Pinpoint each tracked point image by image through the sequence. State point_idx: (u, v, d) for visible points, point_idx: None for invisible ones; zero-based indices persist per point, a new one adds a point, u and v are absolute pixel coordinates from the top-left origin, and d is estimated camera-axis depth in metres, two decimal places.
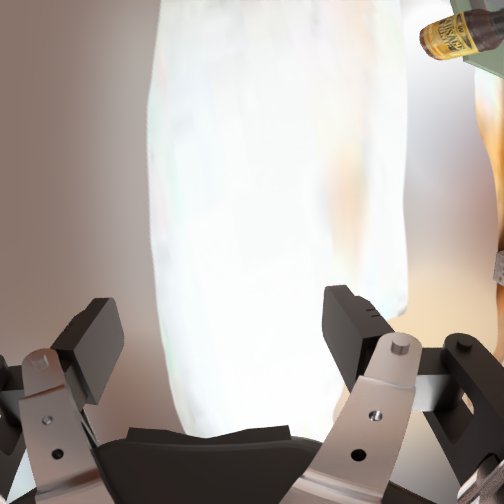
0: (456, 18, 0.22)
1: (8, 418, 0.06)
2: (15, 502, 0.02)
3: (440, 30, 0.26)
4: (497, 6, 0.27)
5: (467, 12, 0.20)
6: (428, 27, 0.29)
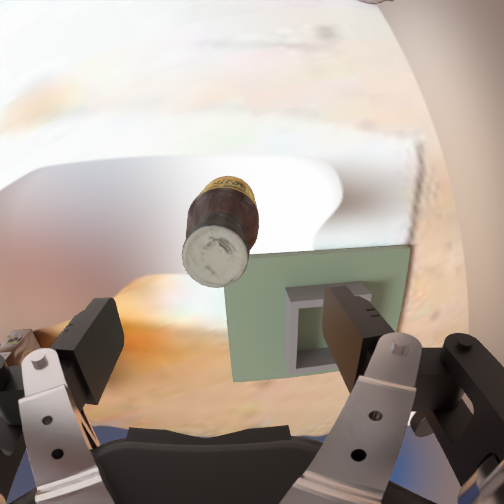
0: (233, 185, 0.26)
1: (8, 418, 0.06)
2: (15, 502, 0.02)
3: (223, 180, 0.30)
4: None
5: (244, 197, 0.25)
6: (239, 179, 0.33)
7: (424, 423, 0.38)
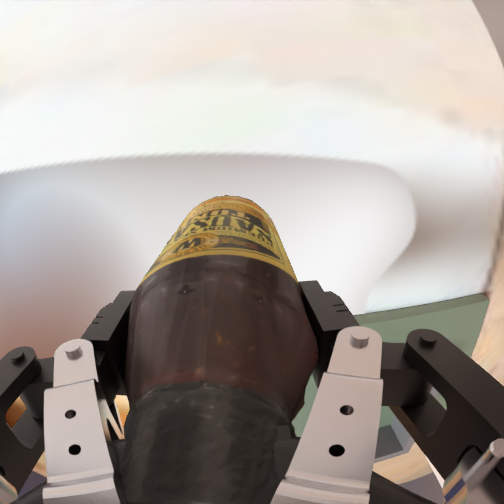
0: (245, 238, 0.10)
1: (33, 412, 0.06)
2: (15, 502, 0.02)
3: (218, 211, 0.14)
4: (394, 421, 0.26)
5: (278, 282, 0.09)
6: (251, 204, 0.17)
7: None
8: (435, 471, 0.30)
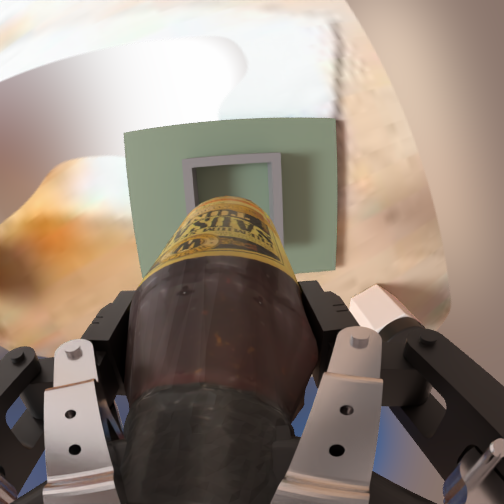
0: (244, 239, 0.10)
1: (34, 412, 0.06)
2: (15, 502, 0.02)
3: (218, 211, 0.14)
4: None
5: (278, 283, 0.09)
6: (251, 205, 0.17)
7: None
8: None
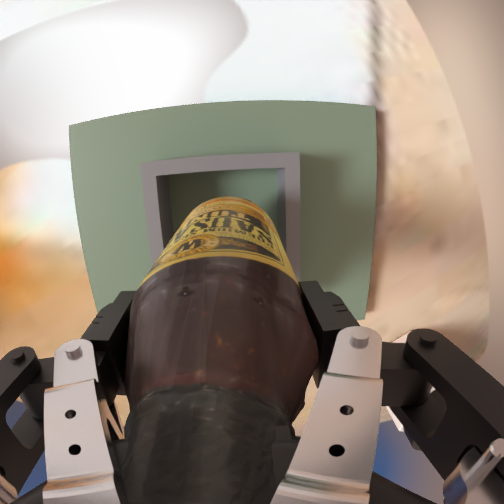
0: (245, 239, 0.10)
1: (34, 412, 0.06)
2: (15, 502, 0.02)
3: (218, 212, 0.14)
4: None
5: (278, 284, 0.09)
6: (251, 205, 0.17)
7: None
8: None
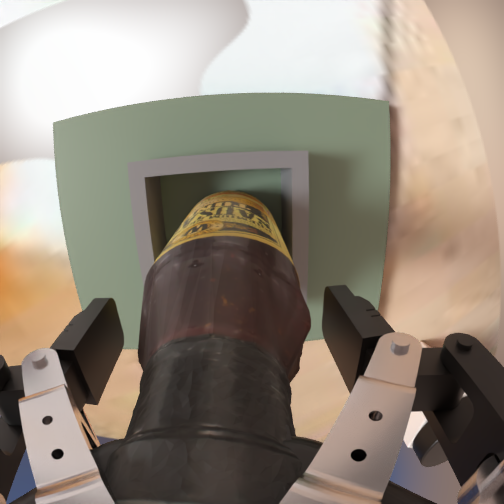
0: (246, 224, 0.11)
1: (8, 418, 0.06)
2: (15, 502, 0.02)
3: (222, 203, 0.15)
4: None
5: (275, 260, 0.10)
6: (252, 198, 0.18)
7: (439, 446, 0.19)
8: None
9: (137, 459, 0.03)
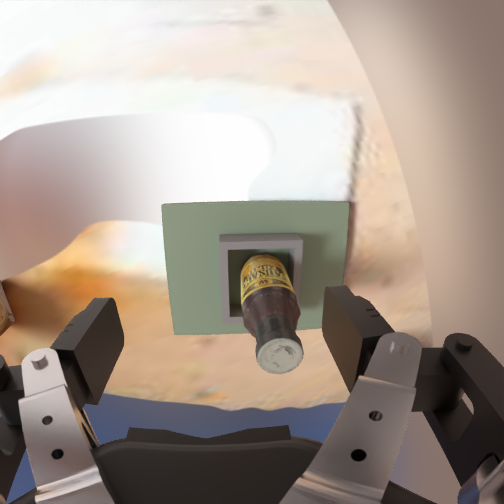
0: (279, 280, 0.33)
1: (8, 418, 0.06)
2: (15, 502, 0.02)
3: (265, 266, 0.36)
4: None
5: (289, 293, 0.31)
6: (275, 260, 0.40)
7: None
8: None
9: (270, 334, 0.25)
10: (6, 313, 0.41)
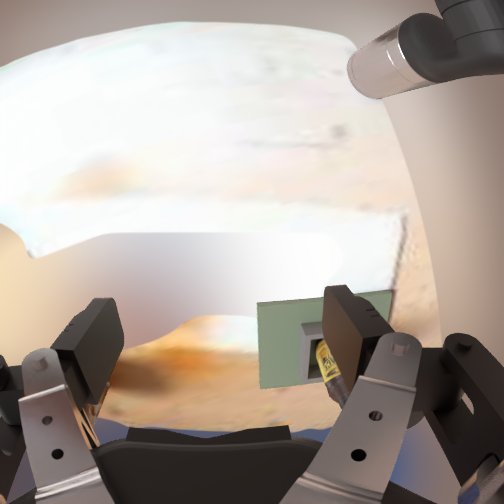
0: None
1: (8, 418, 0.06)
2: (15, 502, 0.02)
3: None
4: None
5: None
6: None
7: None
8: None
9: None
10: None
